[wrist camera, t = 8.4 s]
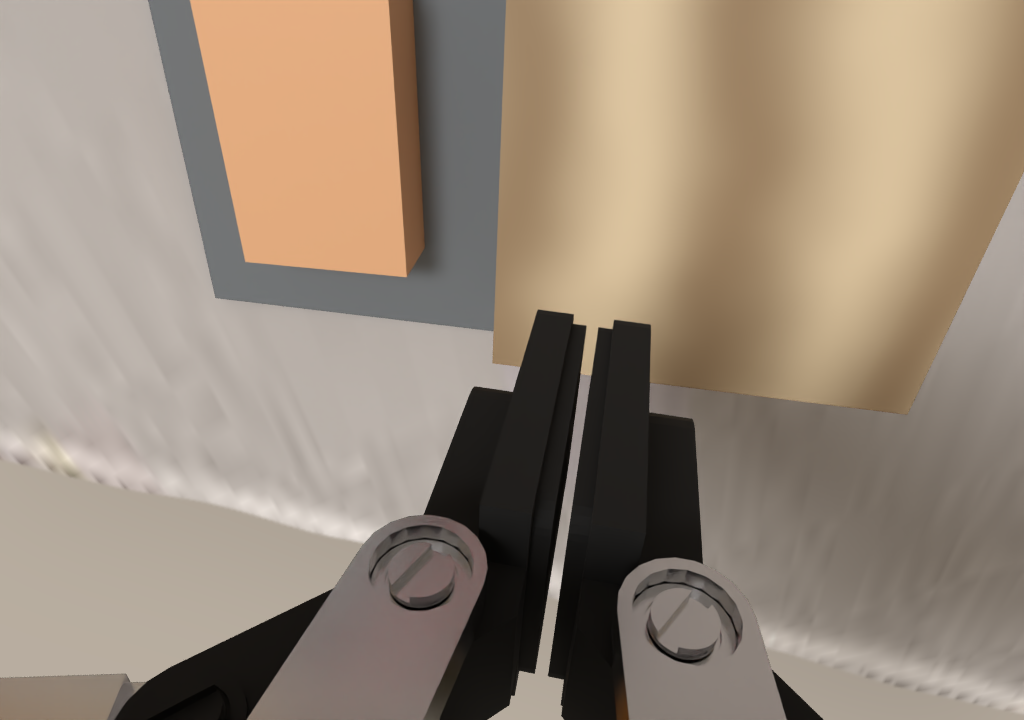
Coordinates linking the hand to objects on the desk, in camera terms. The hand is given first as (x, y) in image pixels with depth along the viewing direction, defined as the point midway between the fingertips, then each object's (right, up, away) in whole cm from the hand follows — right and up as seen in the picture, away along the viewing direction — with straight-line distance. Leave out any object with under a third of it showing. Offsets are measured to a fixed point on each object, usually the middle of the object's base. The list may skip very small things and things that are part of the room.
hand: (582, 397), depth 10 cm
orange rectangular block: (-8, +7, +11) cm, 16 cm away
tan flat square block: (+6, +8, +12) cm, 16 cm away
